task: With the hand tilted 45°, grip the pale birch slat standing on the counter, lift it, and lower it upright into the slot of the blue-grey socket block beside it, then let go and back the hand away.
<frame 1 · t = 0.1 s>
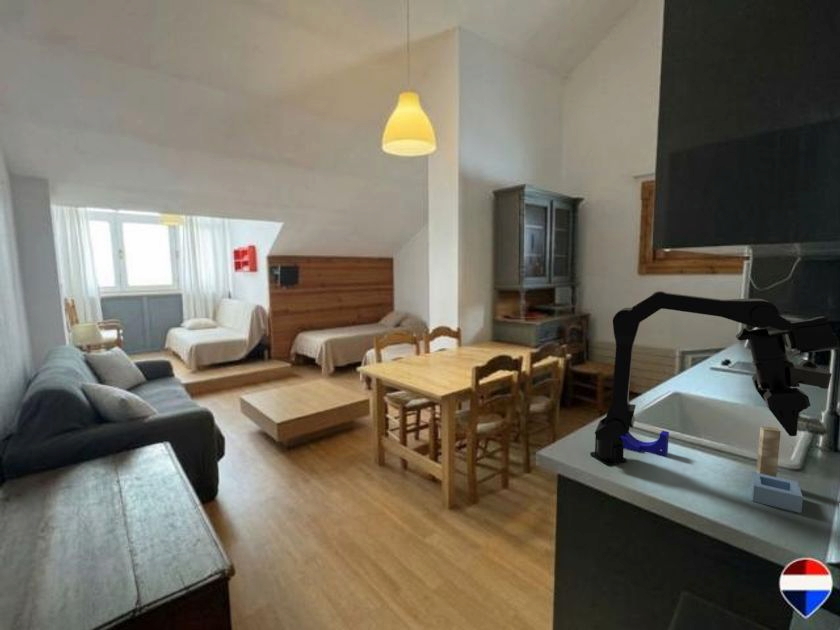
hand: (787, 427, 85), 15 cm above the worktop, tool pointing down, fingers open, 9 cm apart
cable clip: (640, 450, 110), on the worktop
blue-grey socket block: (774, 498, 86), on the worktop
slat: (765, 482, 93), on the worktop
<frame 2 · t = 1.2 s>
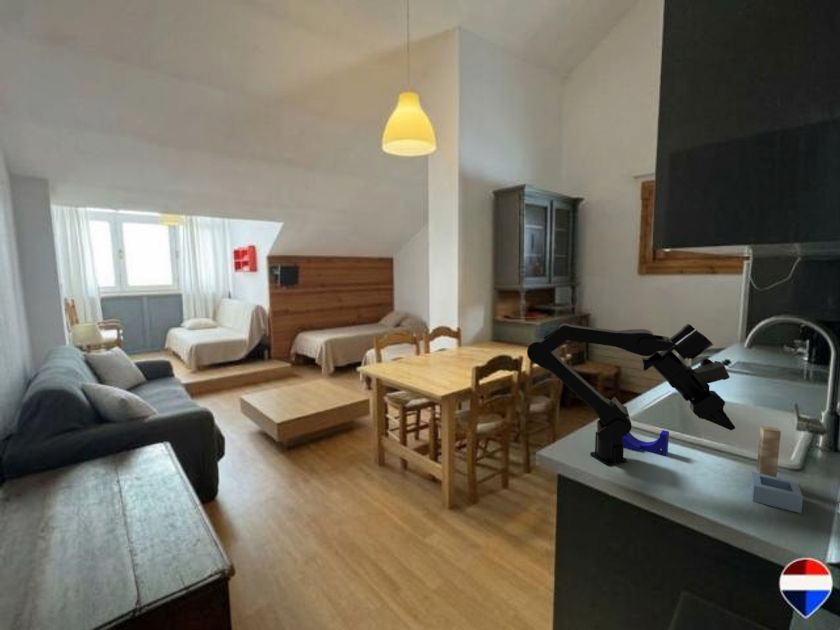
hand: (727, 421, 94), 14 cm above the worktop, tool tilted 45°, fingers open, 9 cm apart
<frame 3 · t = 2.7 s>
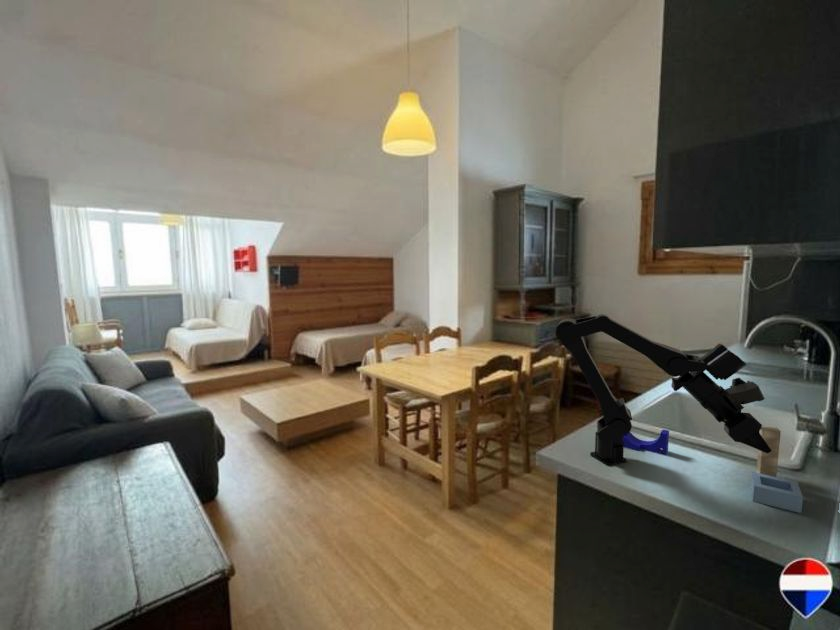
hand: (761, 443, 92), 9 cm above the worktop, tool tilted 45°, fingers open, 9 cm apart
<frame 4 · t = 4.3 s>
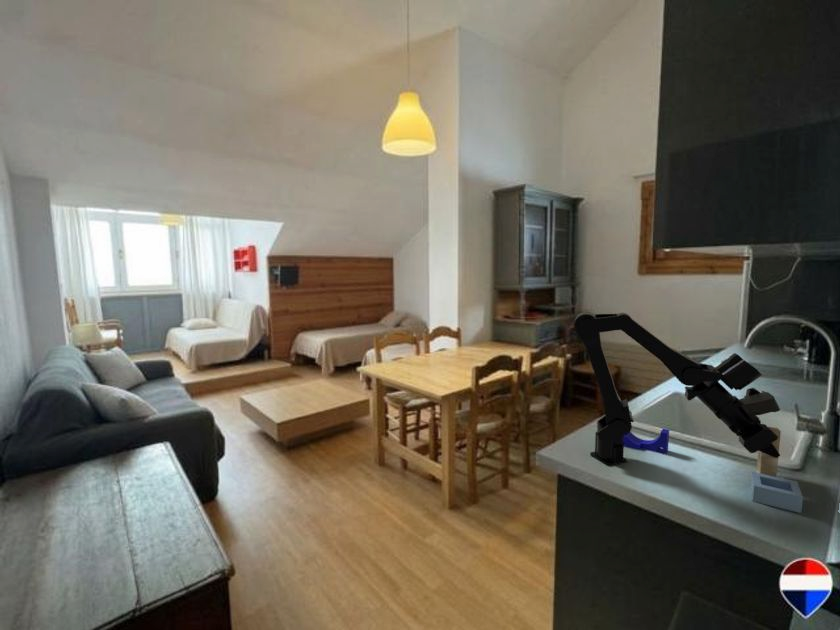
hand: (775, 454, 91), 7 cm above the worktop, tool tilted 45°, fingers closed on slat, 2 cm apart
slat: (765, 482, 93), on the worktop, touching gripper
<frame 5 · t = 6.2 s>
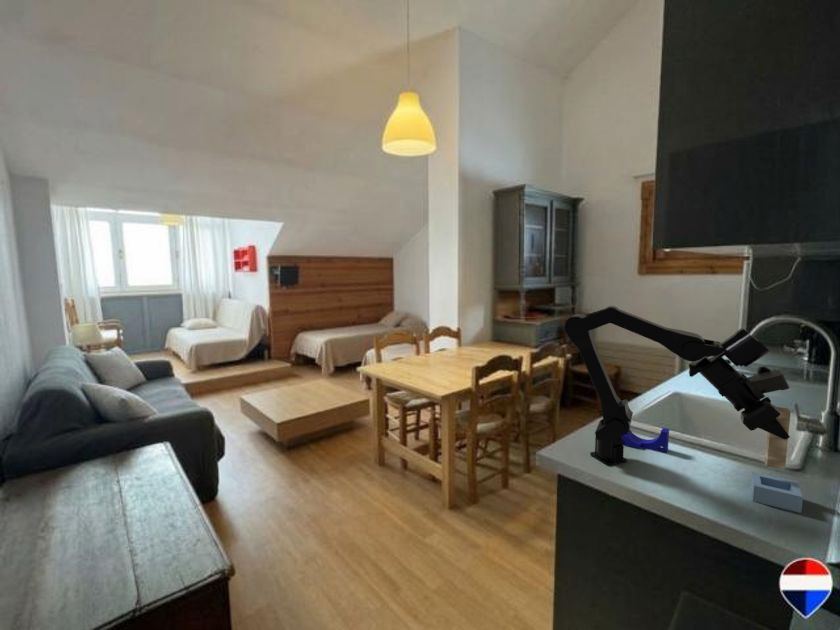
hand: (786, 436, 86), 13 cm above the worktop, tool tilted 45°, fingers closed on slat
slat: (774, 465, 87), point 6 cm above the worktop, touching gripper
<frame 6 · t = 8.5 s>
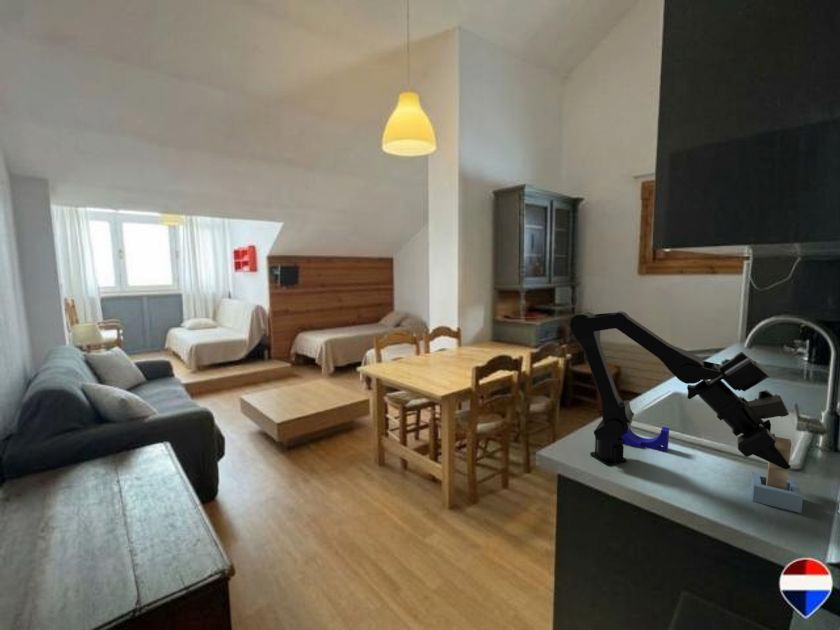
hand: (786, 463, 84), 9 cm above the worktop, tool tilted 45°, fingers open, 5 cm apart
slat: (774, 496, 86), point 1 cm above the worktop, touching blue-grey socket block
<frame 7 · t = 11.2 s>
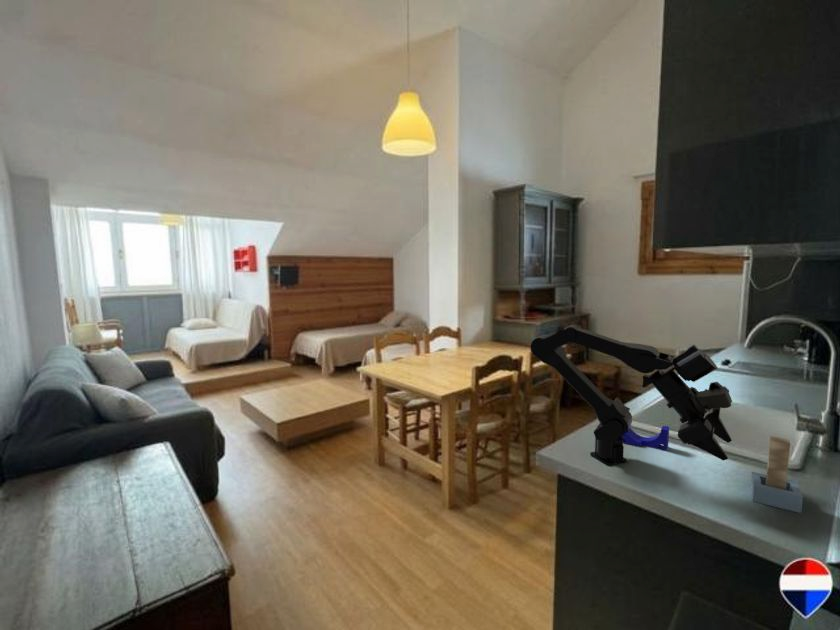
hand: (727, 450, 90), 9 cm above the worktop, tool tilted 40°, fingers open, 9 cm apart
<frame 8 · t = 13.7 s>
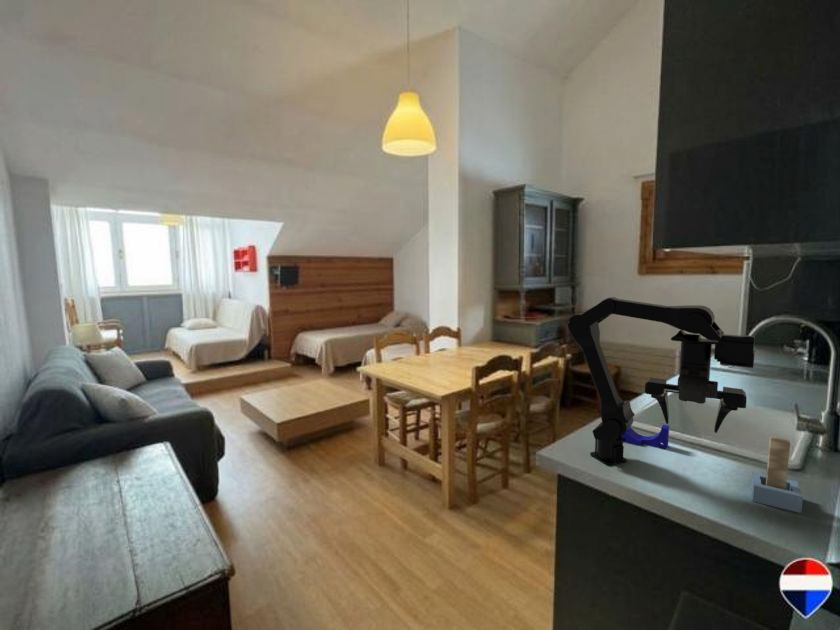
hand: (690, 427, 92), 13 cm above the worktop, tool pointing down, fingers open, 9 cm apart
at the end: slat 0.0 cm off-centre on the blue-grey socket block, point 0.5 cm above the blue-grey socket block's base; slat tilted 0°; the gripper is holding nothing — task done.
